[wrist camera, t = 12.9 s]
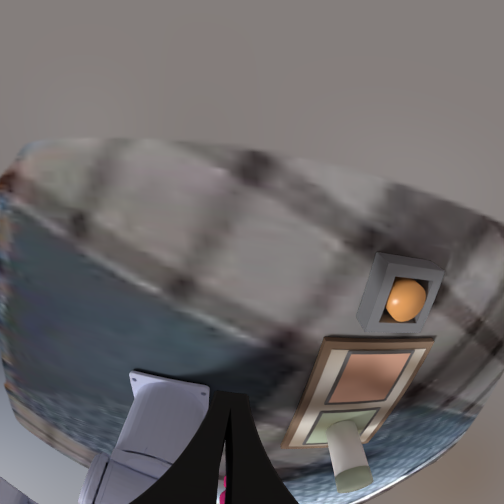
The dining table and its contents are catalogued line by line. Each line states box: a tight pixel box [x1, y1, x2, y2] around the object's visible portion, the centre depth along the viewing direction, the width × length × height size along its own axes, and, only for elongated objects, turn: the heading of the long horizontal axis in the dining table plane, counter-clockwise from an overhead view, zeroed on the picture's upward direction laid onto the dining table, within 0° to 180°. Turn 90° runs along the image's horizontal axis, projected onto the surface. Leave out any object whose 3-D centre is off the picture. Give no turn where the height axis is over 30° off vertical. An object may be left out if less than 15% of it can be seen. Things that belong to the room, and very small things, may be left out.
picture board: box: [281, 337, 434, 449], centre depth 24 cm, size 18×12×1 cm, turn 172°
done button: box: [385, 276, 426, 322], centre depth 18 cm, size 3×3×2 cm
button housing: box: [356, 252, 445, 333], centre depth 19 cm, size 6×6×2 cm
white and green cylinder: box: [325, 420, 373, 493], centre depth 21 cm, size 4×4×8 cm
